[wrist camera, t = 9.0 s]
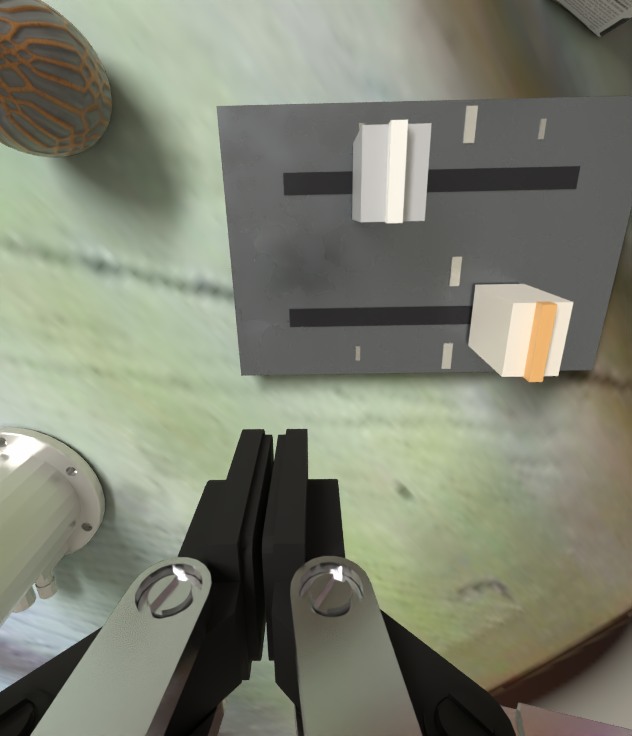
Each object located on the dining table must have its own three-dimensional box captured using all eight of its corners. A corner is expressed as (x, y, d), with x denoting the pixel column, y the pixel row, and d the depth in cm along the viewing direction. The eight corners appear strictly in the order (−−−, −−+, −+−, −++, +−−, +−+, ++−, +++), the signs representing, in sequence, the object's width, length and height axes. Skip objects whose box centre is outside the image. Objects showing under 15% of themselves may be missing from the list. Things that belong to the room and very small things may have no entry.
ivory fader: (513, 345, 27) (564, 381, 22) (468, 346, 27) (506, 382, 22) (523, 283, 26) (581, 303, 20) (475, 283, 26) (519, 305, 20)
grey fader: (402, 219, 24) (427, 222, 19) (352, 220, 24) (362, 223, 19) (407, 140, 23) (435, 118, 17) (353, 142, 23) (363, 120, 17)
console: (575, 360, 30) (593, 370, 28) (246, 365, 30) (241, 375, 28) (632, 103, 24) (659, 94, 22) (224, 113, 25) (216, 105, 23)
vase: (154, 116, 25) (72, 71, 16) (72, 186, 26) (-42, 176, 18) (69, -4, 23) (-72, -124, 14) (-15, 79, 24) (-187, 12, 16)
